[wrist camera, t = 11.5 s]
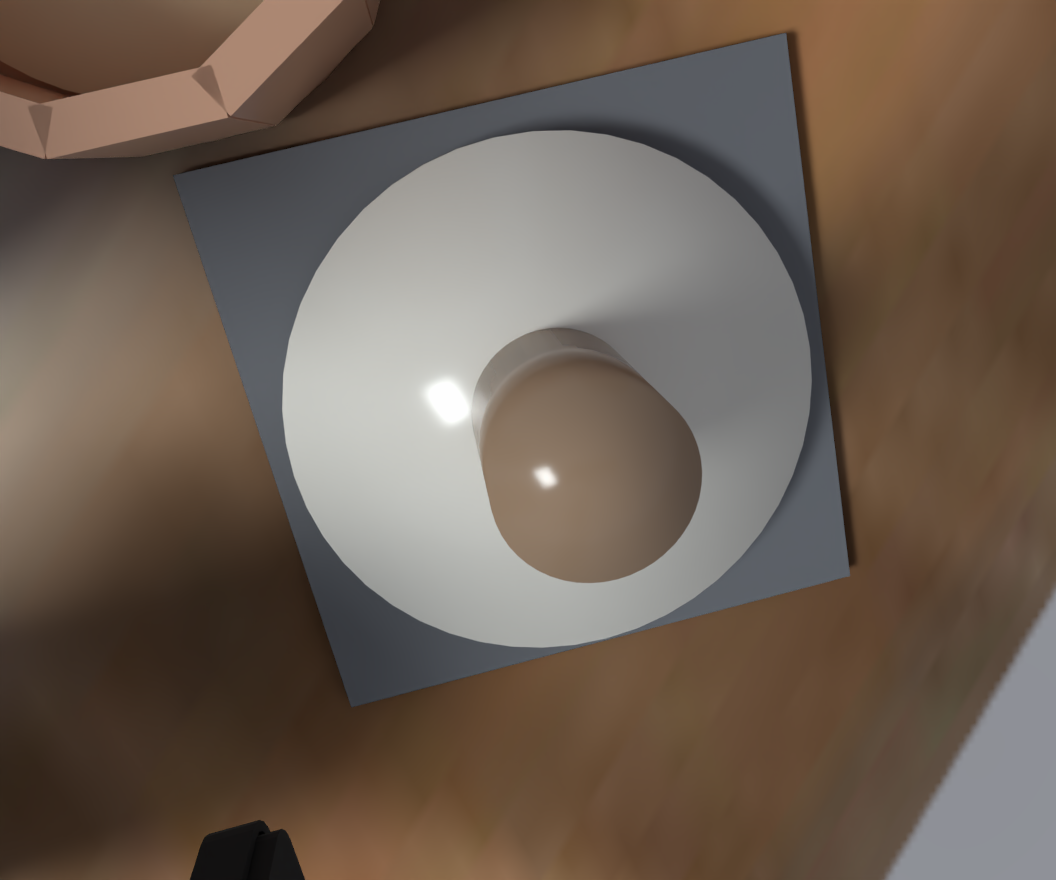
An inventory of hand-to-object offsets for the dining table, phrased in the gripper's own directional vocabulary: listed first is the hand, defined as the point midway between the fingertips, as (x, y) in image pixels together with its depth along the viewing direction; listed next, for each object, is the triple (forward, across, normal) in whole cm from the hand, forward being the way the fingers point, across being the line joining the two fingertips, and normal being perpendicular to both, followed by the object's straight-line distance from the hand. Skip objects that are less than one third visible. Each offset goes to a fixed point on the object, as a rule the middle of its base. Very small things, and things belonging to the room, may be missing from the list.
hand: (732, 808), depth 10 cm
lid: (+14, 0, -1) cm, 14 cm away
